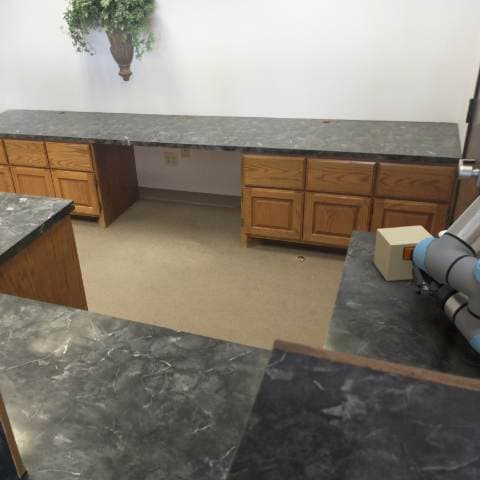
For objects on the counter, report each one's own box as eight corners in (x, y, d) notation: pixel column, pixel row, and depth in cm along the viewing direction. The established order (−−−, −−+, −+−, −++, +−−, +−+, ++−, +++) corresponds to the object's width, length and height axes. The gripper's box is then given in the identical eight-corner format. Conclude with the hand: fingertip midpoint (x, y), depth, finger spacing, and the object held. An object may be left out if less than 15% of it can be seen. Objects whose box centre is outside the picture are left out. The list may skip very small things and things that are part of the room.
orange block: (417, 254, 136) (419, 244, 135) (421, 258, 134) (422, 247, 133) (401, 256, 136) (402, 245, 135) (404, 259, 135) (405, 249, 133)
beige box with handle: (416, 259, 146) (420, 225, 141) (432, 277, 137) (437, 241, 132) (373, 263, 147) (376, 228, 142) (387, 281, 138) (390, 245, 133)
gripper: (427, 320, 114) (387, 268, 136) (487, 316, 114) (437, 264, 135) (432, 292, 111) (389, 243, 132) (493, 287, 110) (441, 239, 132)
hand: (413, 254), depth 134 cm, fingers closed
